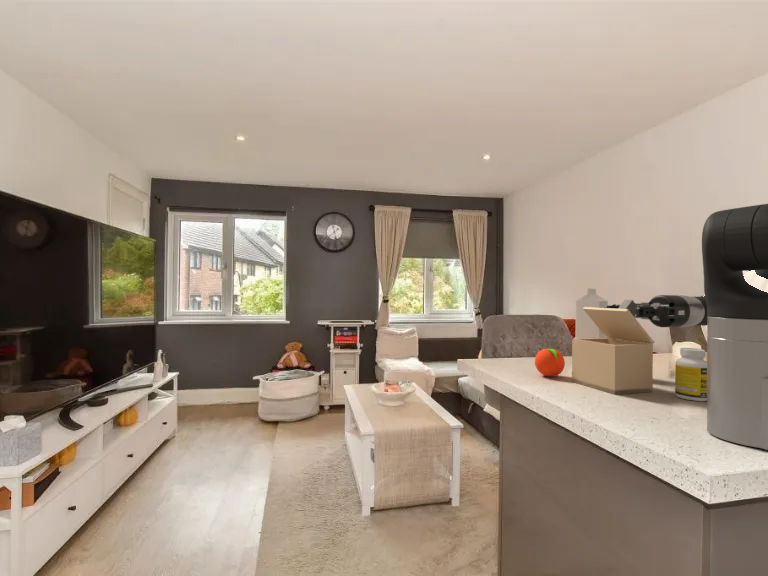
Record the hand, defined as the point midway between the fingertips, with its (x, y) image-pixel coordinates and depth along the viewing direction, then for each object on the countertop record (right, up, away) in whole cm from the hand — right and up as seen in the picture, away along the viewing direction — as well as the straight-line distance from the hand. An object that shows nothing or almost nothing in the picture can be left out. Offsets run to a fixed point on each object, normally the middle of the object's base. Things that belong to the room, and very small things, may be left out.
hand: (620, 311), depth 90 cm
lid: (-1, -3, 0) cm, 3 cm away
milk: (+2, -17, +16) cm, 23 cm away
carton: (-3, -17, -1) cm, 17 cm away
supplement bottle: (+8, -17, -10) cm, 21 cm away
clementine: (-12, -17, +9) cm, 23 cm away
